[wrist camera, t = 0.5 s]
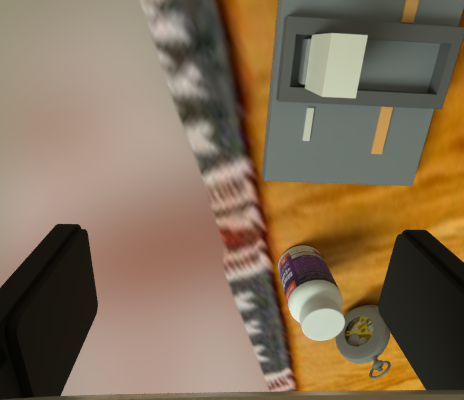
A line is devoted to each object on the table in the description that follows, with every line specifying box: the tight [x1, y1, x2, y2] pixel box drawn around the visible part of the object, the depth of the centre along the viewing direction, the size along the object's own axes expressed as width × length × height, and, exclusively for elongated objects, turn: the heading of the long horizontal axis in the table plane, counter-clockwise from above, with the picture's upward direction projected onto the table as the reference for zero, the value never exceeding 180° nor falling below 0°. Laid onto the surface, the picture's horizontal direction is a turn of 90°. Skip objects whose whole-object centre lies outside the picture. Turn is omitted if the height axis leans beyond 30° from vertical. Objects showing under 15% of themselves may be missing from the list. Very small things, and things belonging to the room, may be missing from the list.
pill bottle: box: [278, 245, 345, 341], centre depth 36 cm, size 5×5×10 cm
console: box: [262, 0, 464, 186], centre depth 30 cm, size 22×15×4 cm
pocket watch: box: [336, 305, 391, 379], centre depth 40 cm, size 8×8×10 cm
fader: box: [298, 33, 368, 98], centre depth 26 cm, size 4×3×7 cm
